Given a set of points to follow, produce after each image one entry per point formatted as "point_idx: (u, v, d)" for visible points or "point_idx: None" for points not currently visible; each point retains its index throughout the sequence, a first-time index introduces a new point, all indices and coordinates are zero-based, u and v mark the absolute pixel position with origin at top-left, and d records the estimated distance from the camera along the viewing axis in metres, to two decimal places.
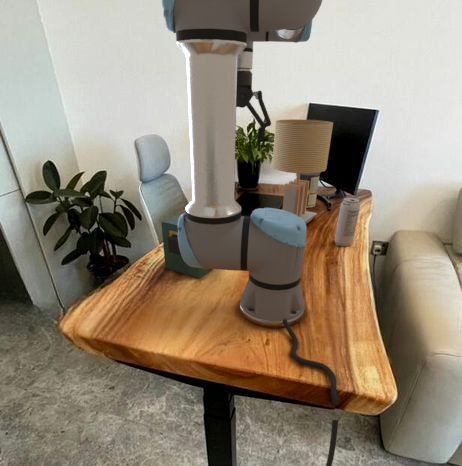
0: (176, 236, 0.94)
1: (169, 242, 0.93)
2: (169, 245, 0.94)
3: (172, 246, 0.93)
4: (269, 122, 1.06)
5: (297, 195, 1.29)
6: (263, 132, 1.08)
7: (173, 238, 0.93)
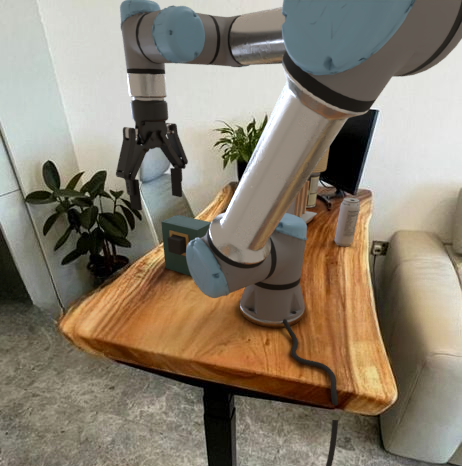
0: (176, 236, 0.94)
1: (169, 242, 0.93)
2: (169, 245, 0.94)
3: (172, 246, 0.93)
4: (186, 160, 0.85)
5: (297, 195, 1.29)
6: (181, 173, 0.86)
7: (173, 238, 0.93)
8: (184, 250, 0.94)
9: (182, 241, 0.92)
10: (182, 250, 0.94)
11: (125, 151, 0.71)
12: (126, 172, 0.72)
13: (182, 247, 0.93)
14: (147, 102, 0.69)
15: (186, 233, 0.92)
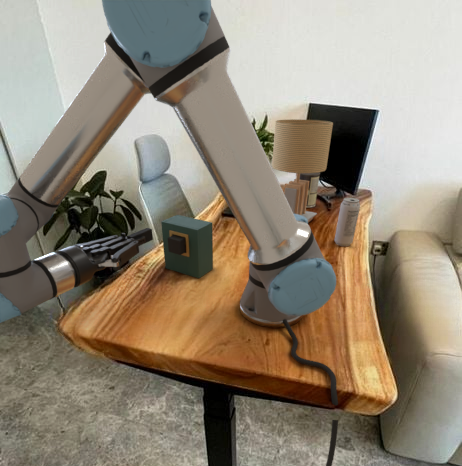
0: (176, 236, 0.94)
1: (169, 242, 0.93)
2: (169, 245, 0.94)
3: (172, 246, 0.93)
4: (113, 236, 0.79)
5: (297, 195, 1.29)
6: None
7: (173, 238, 0.93)
8: (184, 250, 0.94)
9: (182, 241, 0.92)
10: (182, 250, 0.94)
11: (126, 254, 0.73)
12: (134, 243, 0.76)
13: (182, 247, 0.93)
14: (72, 261, 0.65)
15: (186, 233, 0.92)
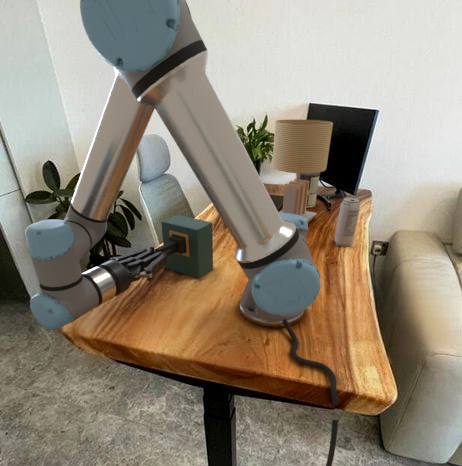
0: (177, 235, 0.94)
1: (170, 241, 0.94)
2: None
3: None
4: (143, 249, 0.88)
5: (297, 195, 1.29)
6: (156, 249, 0.90)
7: (174, 237, 0.93)
8: (185, 249, 0.95)
9: (183, 240, 0.93)
10: (183, 249, 0.94)
11: (157, 266, 0.82)
12: (162, 255, 0.85)
13: (183, 247, 0.93)
14: (114, 274, 0.74)
15: (186, 233, 0.92)
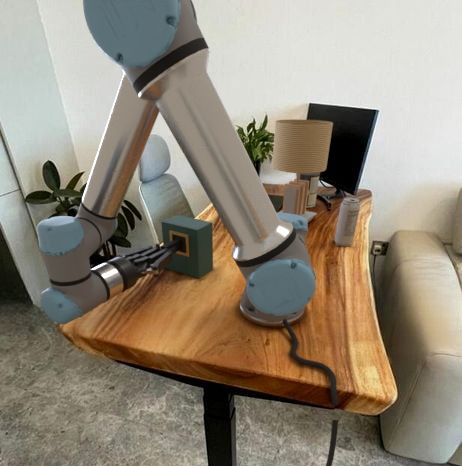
0: None
1: None
2: None
3: None
4: (149, 246, 0.90)
5: (297, 195, 1.29)
6: None
7: None
8: None
9: None
10: None
11: (163, 263, 0.84)
12: (168, 252, 0.87)
13: None
14: (121, 270, 0.75)
15: (186, 233, 0.92)
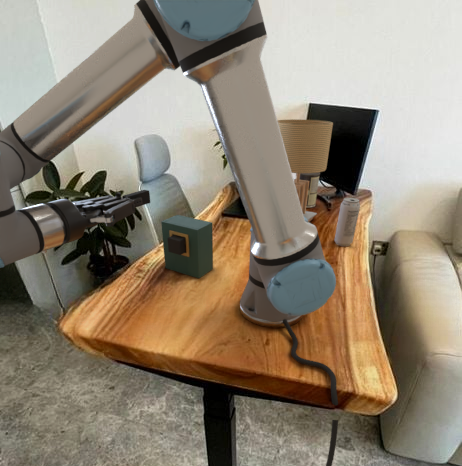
0: (176, 236, 0.94)
1: (169, 242, 0.93)
2: (169, 245, 0.94)
3: (172, 246, 0.93)
4: (108, 196, 0.74)
5: None
6: None
7: (173, 238, 0.93)
8: (184, 250, 0.94)
9: (182, 241, 0.92)
10: (182, 250, 0.93)
11: (121, 211, 0.68)
12: (129, 201, 0.71)
13: (182, 247, 0.93)
14: (61, 213, 0.60)
15: (186, 233, 0.92)
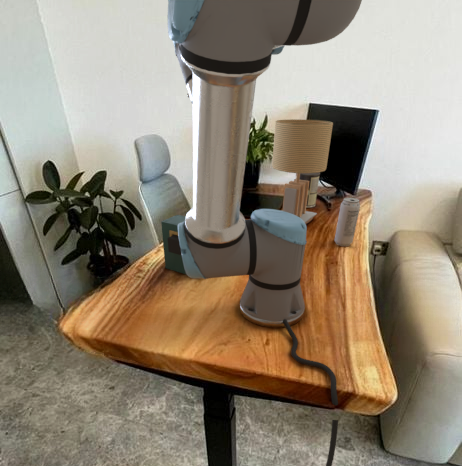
0: (176, 236, 0.94)
1: (169, 242, 0.93)
2: (169, 245, 0.94)
3: (172, 246, 0.93)
4: None
5: (297, 195, 1.29)
6: None
7: (173, 238, 0.93)
8: None
9: None
10: None
11: None
12: None
13: None
14: None
15: None
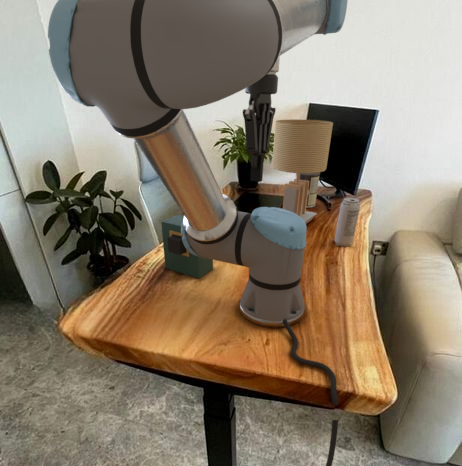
0: (176, 236, 0.94)
1: (169, 242, 0.93)
2: (169, 245, 0.94)
3: (172, 246, 0.93)
4: (268, 146, 0.90)
5: (297, 195, 1.29)
6: None
7: (173, 238, 0.93)
8: (184, 250, 0.94)
9: (182, 241, 0.92)
10: (182, 250, 0.93)
11: (250, 131, 0.82)
12: (256, 148, 0.85)
13: (182, 247, 0.93)
14: (265, 75, 0.77)
15: None
